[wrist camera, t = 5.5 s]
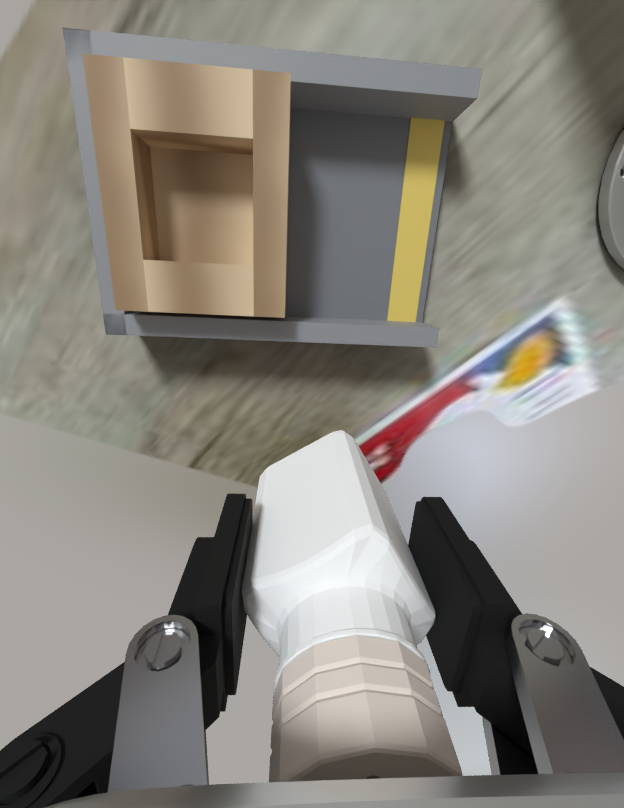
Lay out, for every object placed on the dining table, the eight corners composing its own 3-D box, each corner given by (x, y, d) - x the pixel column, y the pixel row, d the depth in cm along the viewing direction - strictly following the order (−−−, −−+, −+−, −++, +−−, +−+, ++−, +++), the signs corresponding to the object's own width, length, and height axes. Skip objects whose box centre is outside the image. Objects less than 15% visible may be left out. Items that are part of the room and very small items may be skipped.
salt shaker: (343, 418, 14) (435, 693, 5) (388, 495, 15) (528, 824, 6) (255, 467, 14) (187, 795, 5) (306, 536, 16) (321, 894, 7)
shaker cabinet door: (290, 114, 20) (290, 73, 16) (285, 310, 24) (284, 317, 20) (126, 100, 20) (82, 53, 16) (147, 303, 23) (115, 310, 19)
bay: (448, 104, 22) (482, 68, 18) (414, 337, 26) (435, 347, 23) (104, 73, 20) (62, 27, 16) (133, 325, 25) (105, 334, 21)
